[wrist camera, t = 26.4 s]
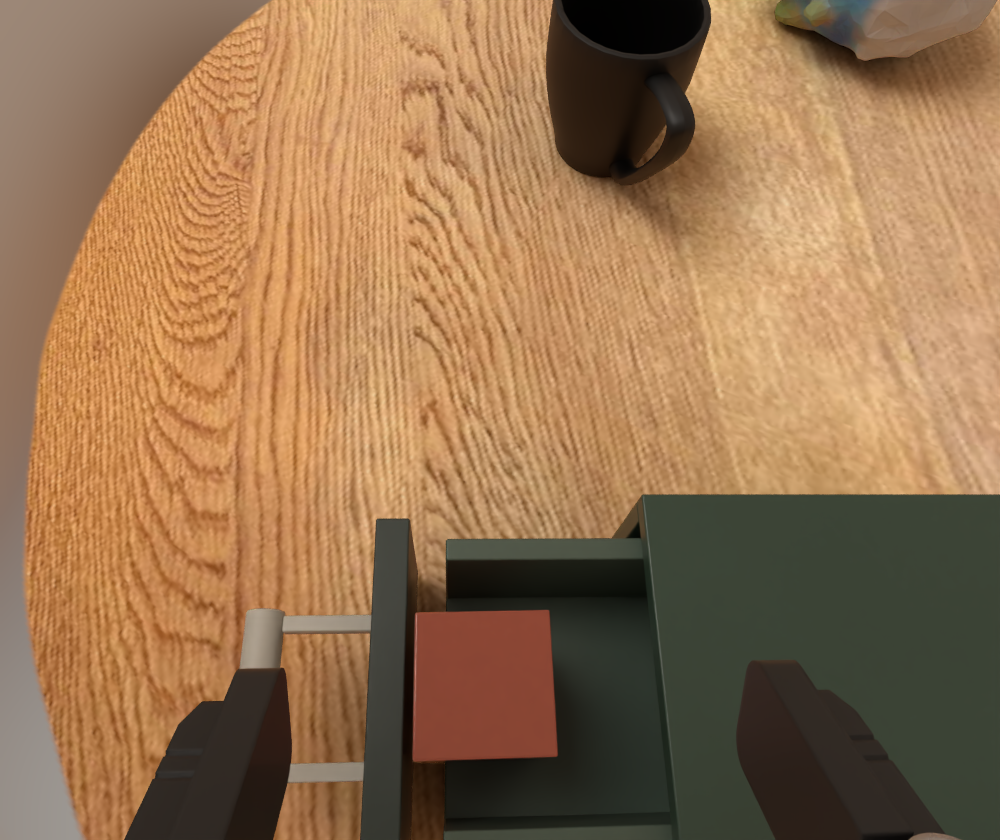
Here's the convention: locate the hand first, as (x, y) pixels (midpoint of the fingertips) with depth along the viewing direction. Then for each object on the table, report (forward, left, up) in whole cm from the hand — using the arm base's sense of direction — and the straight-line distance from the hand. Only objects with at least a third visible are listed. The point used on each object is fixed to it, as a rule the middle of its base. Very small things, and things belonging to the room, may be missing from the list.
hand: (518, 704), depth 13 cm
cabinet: (+10, -9, -21) cm, 25 cm away
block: (+1, +1, -19) cm, 19 cm away
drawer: (+2, 0, -20) cm, 20 cm away
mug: (+29, +16, -21) cm, 40 cm away
